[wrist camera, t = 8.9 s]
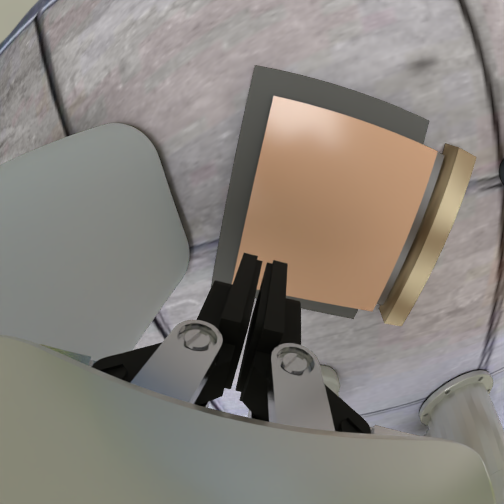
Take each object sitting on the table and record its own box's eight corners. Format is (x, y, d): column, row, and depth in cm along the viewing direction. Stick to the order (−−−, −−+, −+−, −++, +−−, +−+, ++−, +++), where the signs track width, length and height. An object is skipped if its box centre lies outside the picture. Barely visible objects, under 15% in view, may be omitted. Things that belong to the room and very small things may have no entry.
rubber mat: (351, 312, 26) (353, 318, 26) (213, 281, 26) (211, 287, 25) (423, 119, 18) (429, 120, 17) (256, 67, 18) (255, 65, 17)
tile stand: (395, 311, 26) (401, 326, 24) (365, 305, 26) (370, 320, 24) (462, 152, 19) (476, 157, 17) (430, 136, 19) (444, 139, 17)
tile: (437, 151, 17) (273, 95, 17) (372, 311, 24) (231, 284, 23) (430, 148, 18) (273, 96, 18) (369, 303, 25) (233, 275, 24)
